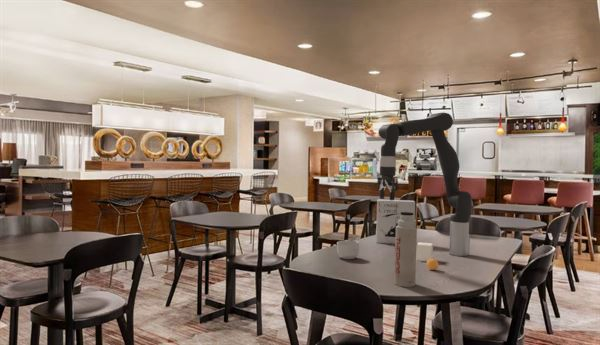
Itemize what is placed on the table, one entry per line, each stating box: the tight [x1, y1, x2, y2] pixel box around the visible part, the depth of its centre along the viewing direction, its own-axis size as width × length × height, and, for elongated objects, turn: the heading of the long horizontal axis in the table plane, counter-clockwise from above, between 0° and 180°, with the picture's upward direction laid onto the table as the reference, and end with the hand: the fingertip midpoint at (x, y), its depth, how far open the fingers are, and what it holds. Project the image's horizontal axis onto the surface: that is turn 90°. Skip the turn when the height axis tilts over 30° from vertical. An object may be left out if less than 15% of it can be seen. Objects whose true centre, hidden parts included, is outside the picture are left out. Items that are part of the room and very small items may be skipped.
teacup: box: [336, 239, 360, 260], centre depth 223 cm, size 14×11×8 cm
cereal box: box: [375, 198, 416, 245], centre depth 268 cm, size 22×8×25 cm, turn 81°
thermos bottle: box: [393, 212, 418, 288], centre depth 176 cm, size 8×8×28 cm
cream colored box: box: [416, 241, 434, 263], centre depth 222 cm, size 7×7×8 cm
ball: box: [426, 258, 439, 271], centre depth 201 cm, size 5×5×5 cm
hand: (386, 199), depth 219 cm, fingers open, 8 cm apart
